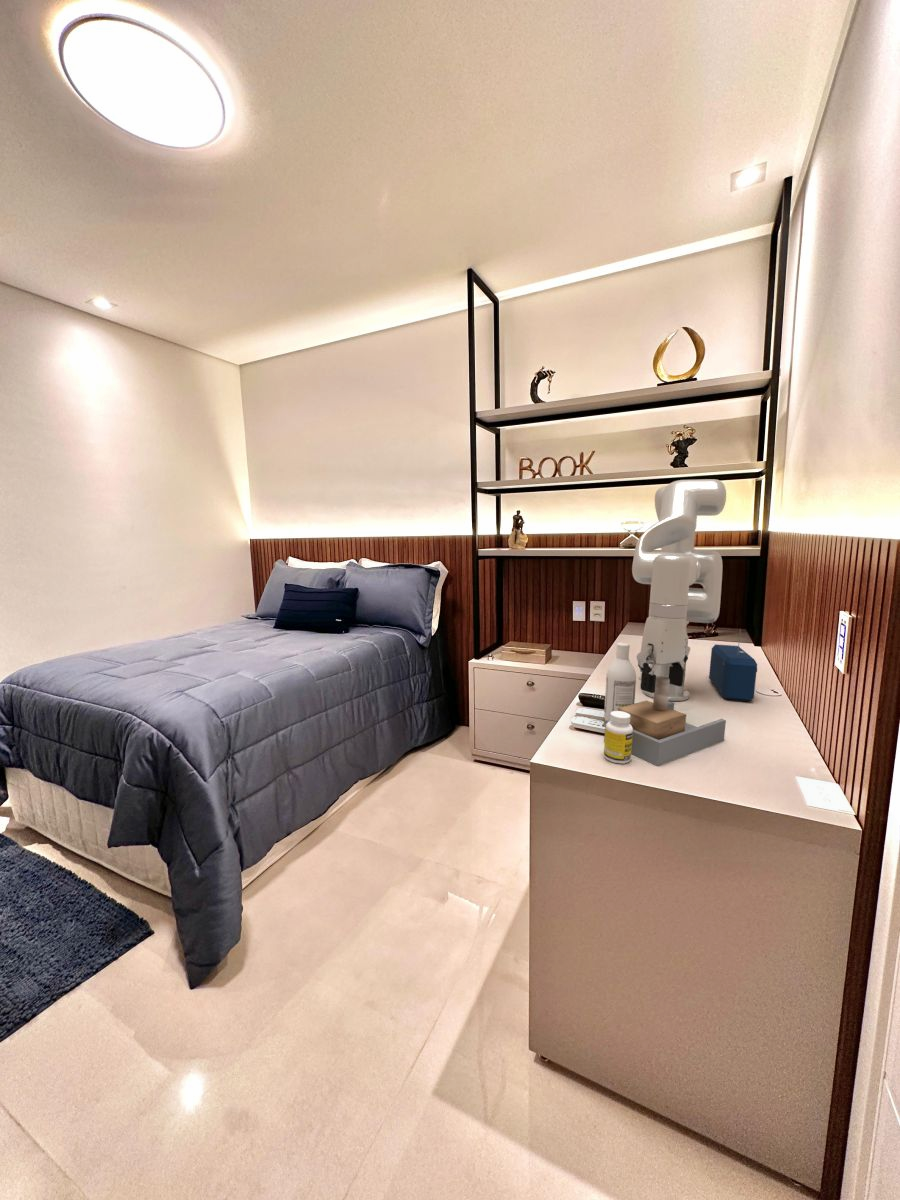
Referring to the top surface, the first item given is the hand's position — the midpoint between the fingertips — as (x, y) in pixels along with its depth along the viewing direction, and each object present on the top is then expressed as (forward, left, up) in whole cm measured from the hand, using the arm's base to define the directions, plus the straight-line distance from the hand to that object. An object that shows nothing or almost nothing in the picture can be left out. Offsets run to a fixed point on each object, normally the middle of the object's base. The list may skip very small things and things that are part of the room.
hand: (661, 688), depth 111 cm
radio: (-12, +52, -13) cm, 55 cm away
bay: (0, +3, -13) cm, 13 cm away
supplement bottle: (0, -14, -13) cm, 19 cm away
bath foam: (-13, +3, -13) cm, 19 cm away
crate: (0, -3, -12) cm, 12 cm away
